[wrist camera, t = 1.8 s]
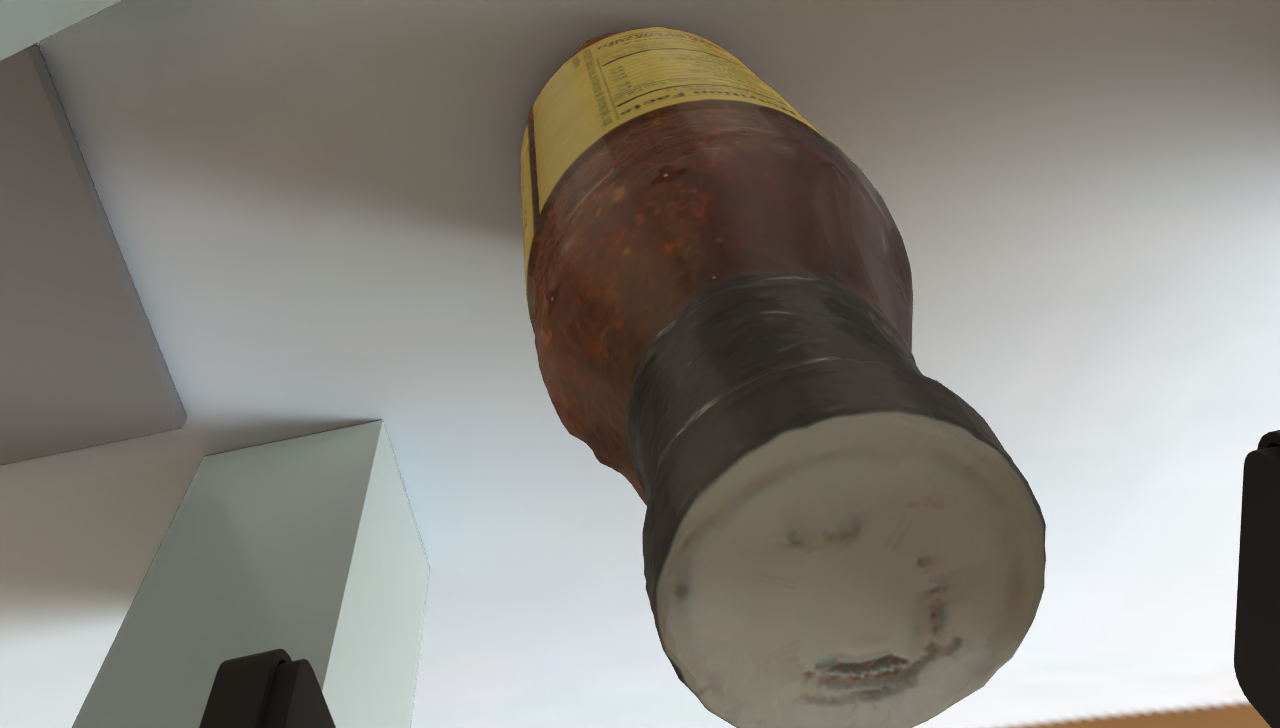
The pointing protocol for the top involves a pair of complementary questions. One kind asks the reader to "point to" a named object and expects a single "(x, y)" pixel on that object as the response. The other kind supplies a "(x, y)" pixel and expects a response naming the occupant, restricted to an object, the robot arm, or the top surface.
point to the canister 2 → (278, 585)
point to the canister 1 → (41, 20)
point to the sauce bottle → (765, 396)
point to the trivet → (65, 292)
